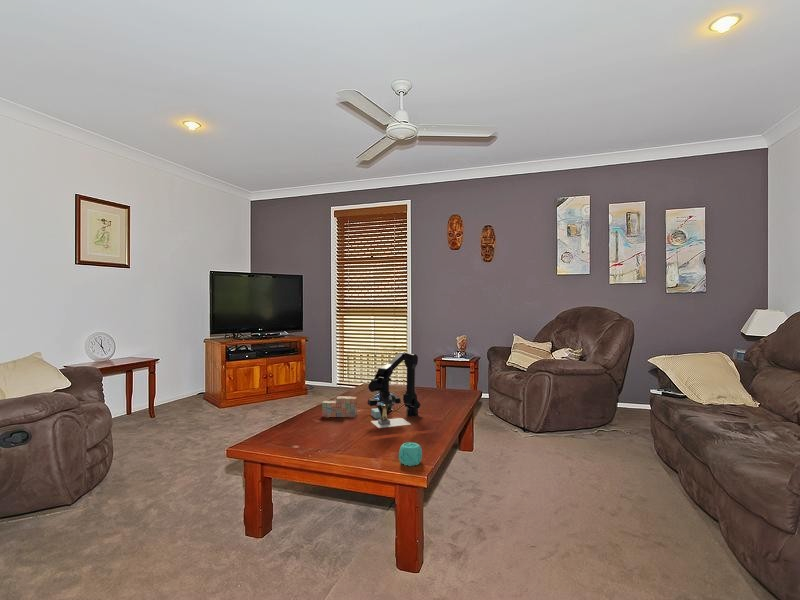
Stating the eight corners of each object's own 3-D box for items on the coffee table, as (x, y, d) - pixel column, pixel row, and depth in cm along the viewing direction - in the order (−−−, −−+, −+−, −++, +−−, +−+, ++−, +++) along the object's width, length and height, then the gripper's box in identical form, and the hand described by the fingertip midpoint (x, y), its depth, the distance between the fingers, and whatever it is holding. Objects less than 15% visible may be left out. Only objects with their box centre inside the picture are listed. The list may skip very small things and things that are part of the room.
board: (401, 420, 266) (401, 414, 266) (411, 426, 252) (411, 420, 252) (370, 423, 259) (370, 417, 259) (378, 430, 245) (378, 424, 245)
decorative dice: (415, 467, 191) (415, 449, 191) (398, 464, 194) (398, 446, 194) (422, 461, 198) (422, 443, 198) (406, 458, 201) (406, 441, 201)
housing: (382, 416, 275) (382, 407, 275) (386, 420, 267) (386, 411, 267) (371, 417, 272) (371, 408, 272) (375, 421, 264) (375, 412, 264)
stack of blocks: (321, 417, 273) (321, 397, 273) (324, 415, 279) (324, 395, 279) (355, 418, 271) (355, 398, 271) (357, 415, 277) (357, 396, 277)
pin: (385, 418, 256) (385, 404, 256) (387, 419, 253) (387, 405, 253) (381, 418, 255) (381, 404, 255) (382, 419, 252) (382, 406, 252)
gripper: (373, 393, 243) (373, 421, 243) (404, 390, 250) (404, 417, 250) (367, 389, 253) (367, 416, 253) (397, 387, 260) (397, 413, 260)
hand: (384, 416), depth 254 cm, fingers closed on pin, 3 cm apart
